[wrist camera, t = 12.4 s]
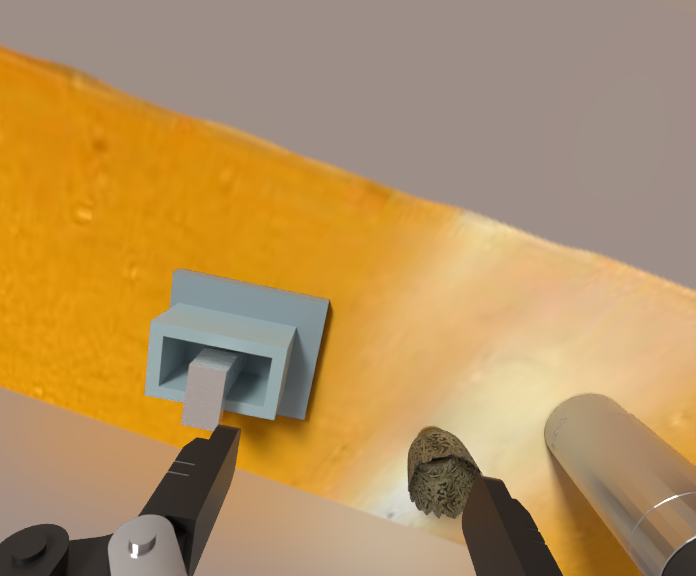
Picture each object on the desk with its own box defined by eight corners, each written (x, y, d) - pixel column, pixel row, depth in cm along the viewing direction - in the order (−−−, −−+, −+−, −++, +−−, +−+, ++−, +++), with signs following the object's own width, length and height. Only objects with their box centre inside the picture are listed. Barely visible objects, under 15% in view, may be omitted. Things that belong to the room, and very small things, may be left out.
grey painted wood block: (251, 336, 40) (226, 372, 32) (242, 386, 42) (216, 431, 34) (221, 329, 40) (189, 364, 32) (213, 380, 41) (181, 424, 34)
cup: (431, 474, 46) (447, 532, 38) (386, 439, 45) (393, 492, 37) (475, 433, 44) (501, 486, 37) (429, 397, 43) (446, 443, 36)
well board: (329, 299, 40) (324, 322, 34) (305, 412, 44) (297, 453, 37) (180, 268, 40) (144, 285, 33) (168, 385, 43) (134, 422, 37)
